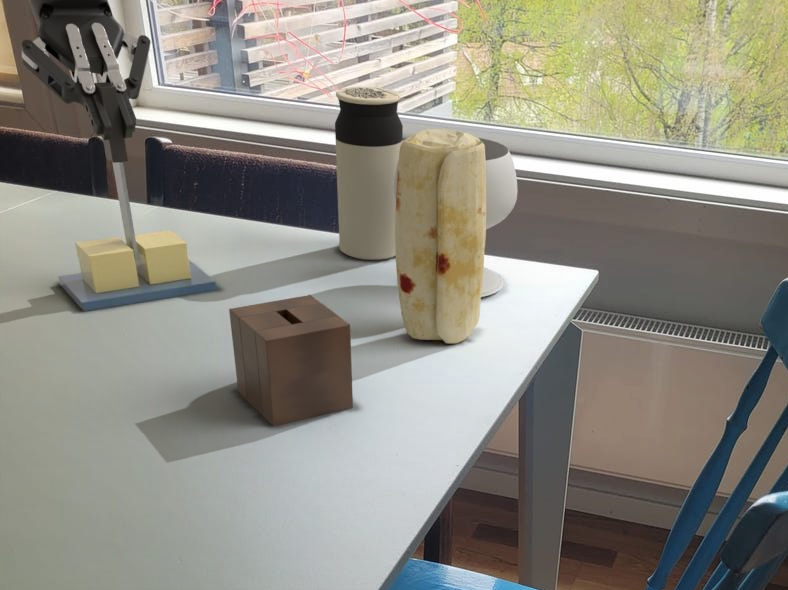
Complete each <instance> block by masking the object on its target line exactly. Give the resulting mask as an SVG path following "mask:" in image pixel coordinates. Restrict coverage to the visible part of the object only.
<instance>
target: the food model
mask: <svg viewBox="0 0 788 590" xmlns="http://www.w3.org/2000/svg"><path fill="white" fill-rule="evenodd" d="M478 138H479V137H478V136H475V135H473V134H472V133H471V134H470V133H468V132H464V131H457V130H454V129H453V130H452V129H447V128H429V129H428V128H427V129H422V130H419V131H418V132H416V133H414V134H412V135H410V136H409V137H407V138H406V139H404V140H403V142H402V144H401V146H400V151H399V161H398V175H397V193H396V209H395V255H396V256H395V267H396V279H397V280H396V281H397V287H398V297H399V305H400V312H401V317H402V322H403V325H404V329H405V332H406V333H407V335H408V336H409V337H410V338H412V339H415V340H425V341H426V340H427V341H430V340H431V341H443V342H444V343H445V344H452V345H453V344H455V345H457V344H459V343H460V342H463V341H465V340H467V339H468V338H469V336H471V334H472V333H473V332H474V330H475V328H476V327H477V326H478V323H479V320H480V316H481V315H480V314H481V301H482V297H481V290H482V281H483V270H484V268H485V249H486V239H487V229H486V161H485V146H484V144H483V142H482V141H480V140H479V139H478Z"/></svg>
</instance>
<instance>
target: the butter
mask: <svg viewBox="0 0 788 590" xmlns="http://www.w3.org/2000/svg"><path fill="white" fill-rule="evenodd" d="M135 239H136V245H137V251H138V257H139V259H137V260H135V259H134V253H133V250H132V249H131V248H130V247H129V246H128V245H127V244H126V241H124V240H123V239H121V237H119V236H115V237H107V238H99V239H91V240H84V241H76V242H74V245H75V249H76V254H77V259H78V263H79V264H78V265H79V269H80V272H78V273H72V274H63V275H58V282H59V285H60V286H61V287H62V289H63V290H64V291H65V292H66V293H67V295H69V297H71V299H72V300H73V301H74V302H75V304H77V306H78V307H79V308H80V309H81V310H82V312H90V311H96V310H101V309H107V308H113V307H119V306H125V305H133V304H138V303H144V302H150V301H158V300H162V299H163V300H164V299H170V298H176V297H181V296H188V295H193V294H199V293H206V292H211V291H216V290H217V284H216V281H215V279H213V278H212V277H210V276H209V275H208V274H207V273H206V272H204V271H203V270H202V269H201V268H200V267H199V266H197V264H195V263H194V262H193V261H191V260H190V259H189V252H188V246H187V242H186V241H184V239H182V238H181V237H180V236H179V235H177V234H176V233H175V232H174V231H173V230H171V229H170V230H169V229H168V230H162V231H154V232H153V231H152V232H145V233H137V234H135Z"/></svg>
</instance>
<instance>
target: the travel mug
mask: <svg viewBox="0 0 788 590" xmlns="http://www.w3.org/2000/svg"><path fill="white" fill-rule="evenodd" d="M335 96H336V98H337V101H338V104H339V113H338V114H337V117H336V120H335V122H334V133H335V134H334V136H335V159H336V160H335V163H336V187H337V188H336V189H337V212H338V215H337V216H338V236H339V237H338V240H339V242H338V243H339V250H340V252H342V253H343V254H344V255H346V256H348V257H351V258H354V259H357V260H358V259H359V260H363V261H383V260H388V259H392V258H394V257H396V255H395V209H396V199H395V196H394V180H395V172H396V167H397V163H398V160H399V151H400V146H401V144H402V142H403V141H404V140H403V138H404V137H403V135H404V134H403V133H404V130H403V127H404V125H403V123H402V120H401V118H400V117H399V114H398V106H399V105H398V104H399V101H400V100H401V97H402V96H401V94H400V93H399V92H398V91H395V90H392V89H388V88H384V87H377V86H376V87H374V86H352V87H351V86H350V87H344V88H341V89H339V90H337V91H336V93H335Z"/></svg>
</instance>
